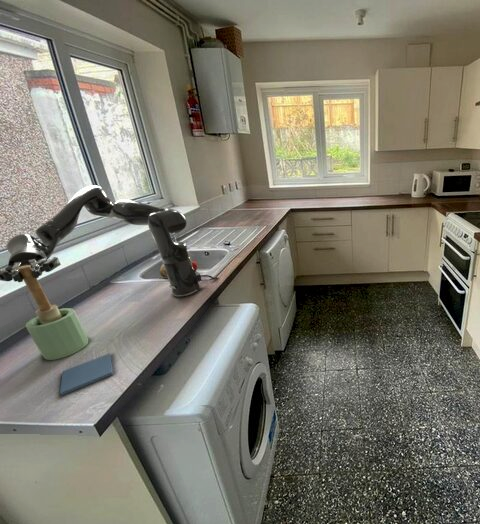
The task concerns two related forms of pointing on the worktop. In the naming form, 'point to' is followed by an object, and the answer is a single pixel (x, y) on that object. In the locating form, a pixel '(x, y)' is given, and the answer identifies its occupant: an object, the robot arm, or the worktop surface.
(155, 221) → the robot arm
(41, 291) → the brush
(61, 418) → the worktop surface
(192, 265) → the strawberry
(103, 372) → the mat
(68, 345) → the green pot
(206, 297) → the worktop surface
